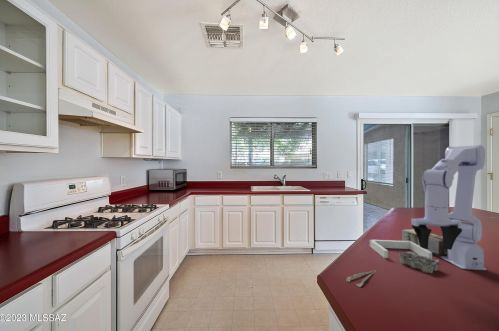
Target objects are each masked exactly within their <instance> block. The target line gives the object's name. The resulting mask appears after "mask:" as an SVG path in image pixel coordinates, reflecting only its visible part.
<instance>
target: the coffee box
mask: <svg viewBox="0 0 499 331" xmlns="http://www.w3.org/2000/svg"><path fill="white" fill-rule="evenodd" d="M401 231H402V232H401V241H411V242H413V243H415V244H417V245H419V246H420V243H419V240H418V237H417V234H416V232H415V231H414V229H413V228H412V229H409V228H408V229H402V230H401ZM426 250H428V251H430V252H432V256H435V257H437V258H441V256H445V257H447V254H448V249H447V248H444V246H443V236H441V235H437V234H434V233H430V236H429V240H428V249H426Z"/></svg>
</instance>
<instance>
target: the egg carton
mask: <svg viewBox="0 0 499 331" xmlns="http://www.w3.org/2000/svg"><path fill="white" fill-rule="evenodd" d="M397 254H398V262H399V263H400V264H401V265H407V266H410V268H413V269H419V270H421V271H422V272H423V273H430V274H434V271H435V272H436V271H438V263H439V259H434V258H432V259H430V258H427V257H426V256H421V255H419V254H417V253H415V252H414V251H406V252H404V253H403V252H400V251H398V252H397Z"/></svg>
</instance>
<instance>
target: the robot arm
mask: <svg viewBox="0 0 499 331" xmlns="http://www.w3.org/2000/svg"><path fill="white" fill-rule="evenodd" d="M485 161H486V149H485V147H484V146H483V145H481V144H478V145H463V146H462V145H461V146H460V145H459V146H447V147H446V149H445V152H444V158H442V159H440V160H439V161H438V162H437V163H436V164H435V165H434V166H433V167H432V168H431V169H427V170H424V171H423V173H422V174H421V183H422V186H423V188H422V189H423V192H424V217H422V218H421V217H420V218H411V228H412V229H414V231H415V232H416V234H417V237H418V240H419V243H420V247H422V248H424V249H428V240H429V236H430V233H431V232H432V231H433V230H432V229H431V228H428V227H440V230H441V234H442V237H443V246H444V248H447V249H448V254H447V257H445V256H441V257H440V258H441V259H443V260H445V261H447V262H449V263H451V264H453V265H454V266H456V267H458V268H459V269H462V270H475V271H487V268H486V267H485V251H484V249H483V248H482V247H481V246H480V245H478V242H479V241H481V240H482V236H483V229H482V221H481V220H480V219H479V218H478V217H476V216H475V215H473V214H472V212H473V202H474V192H475V191H474V190H475V183H476V175H477V172H478V171H480V170H482V169H484V166H485ZM455 174H457V181H456V182H457V183H456V189H455V197H454V206H453V211H452V212H450V213H449V205H450V204H449V201H450V199H449V196H450V190H449V189H450V188H451V187H452V186H453V182H454V180H455V179H454V178H455V177H454V176H455ZM431 234H432V233H431Z"/></svg>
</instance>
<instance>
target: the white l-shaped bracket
mask: <svg viewBox="0 0 499 331" xmlns="http://www.w3.org/2000/svg"><path fill="white" fill-rule="evenodd" d="M368 242H369V243H368V244H369V247H370V248H371V249H373V251H374V252H377V253H378V254H379V255H380V256H381V257H382V258H384V259H388V257H389V250H388V249H404V250H411V252H414V253H415V254H417V255H421V256H426V257H427V258H430V259H433V255H432V252H430V251H428V250H426V249H424V248H422V247H420V246H419V245H417V244H415V243H413V242H411V241H402V240H394V239H393V240H391V239H389V240H388V239H369V241H368Z"/></svg>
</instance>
